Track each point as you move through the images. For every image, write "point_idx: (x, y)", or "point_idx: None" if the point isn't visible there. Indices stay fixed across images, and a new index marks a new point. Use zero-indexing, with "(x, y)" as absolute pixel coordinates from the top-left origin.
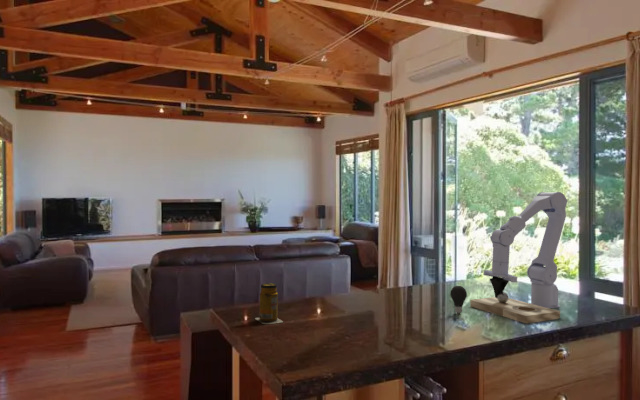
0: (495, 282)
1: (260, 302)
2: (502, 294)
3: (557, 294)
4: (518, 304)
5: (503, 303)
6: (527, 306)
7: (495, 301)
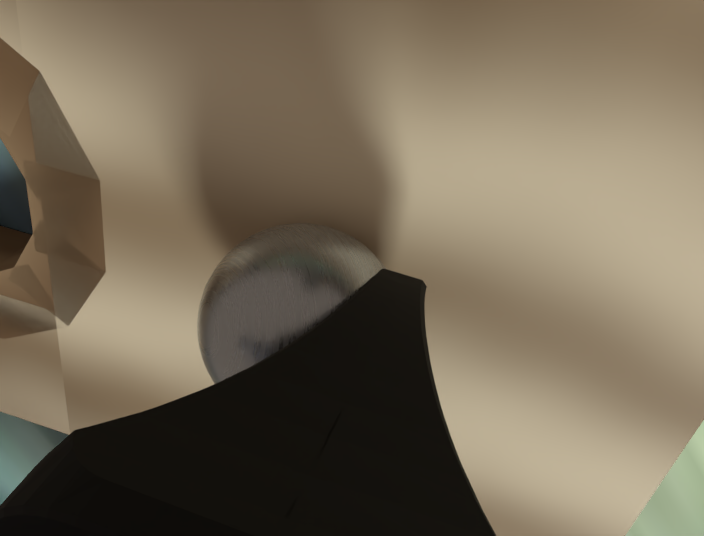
0: (232, 464)
1: None
2: (233, 307)
3: None
4: (155, 334)
5: None
6: (38, 312)
7: (453, 274)
